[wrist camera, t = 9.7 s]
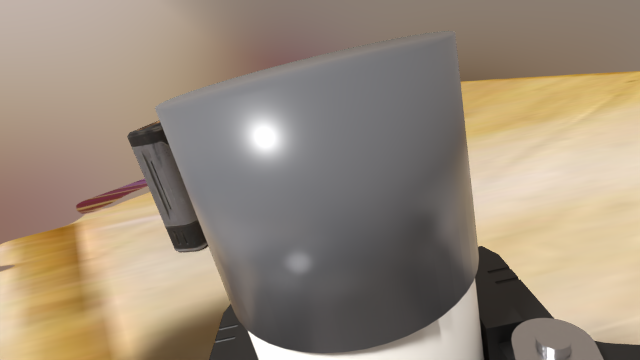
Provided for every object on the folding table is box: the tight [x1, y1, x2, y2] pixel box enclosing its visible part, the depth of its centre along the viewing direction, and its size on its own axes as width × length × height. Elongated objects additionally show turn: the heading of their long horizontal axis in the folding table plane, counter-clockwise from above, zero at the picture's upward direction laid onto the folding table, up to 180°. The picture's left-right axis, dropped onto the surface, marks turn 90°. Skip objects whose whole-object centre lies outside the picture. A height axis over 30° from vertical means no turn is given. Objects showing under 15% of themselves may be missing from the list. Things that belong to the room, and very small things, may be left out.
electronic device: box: [128, 121, 208, 252], centre depth 62 cm, size 9×6×20 cm, turn 164°
